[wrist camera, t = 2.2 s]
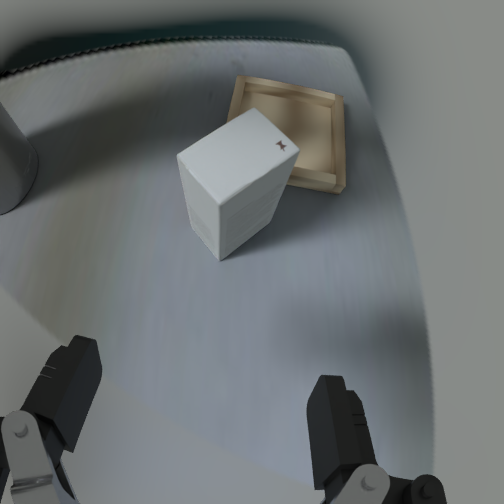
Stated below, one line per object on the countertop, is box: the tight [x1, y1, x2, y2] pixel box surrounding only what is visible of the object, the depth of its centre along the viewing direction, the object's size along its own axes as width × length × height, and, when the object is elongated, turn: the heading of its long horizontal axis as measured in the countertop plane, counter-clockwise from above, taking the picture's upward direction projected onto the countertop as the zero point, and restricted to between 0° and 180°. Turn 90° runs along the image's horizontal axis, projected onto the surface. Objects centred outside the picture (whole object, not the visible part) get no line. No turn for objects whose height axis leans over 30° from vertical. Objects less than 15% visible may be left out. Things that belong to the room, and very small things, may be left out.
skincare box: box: [177, 108, 300, 261], centre depth 23 cm, size 6×4×12 cm
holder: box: [226, 75, 346, 195], centre depth 31 cm, size 12×12×2 cm
